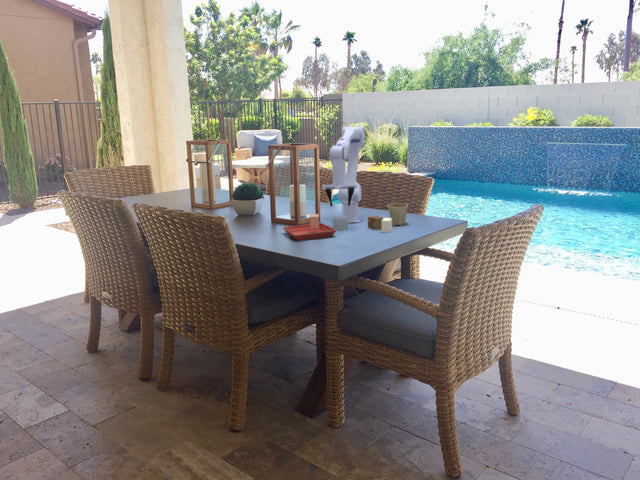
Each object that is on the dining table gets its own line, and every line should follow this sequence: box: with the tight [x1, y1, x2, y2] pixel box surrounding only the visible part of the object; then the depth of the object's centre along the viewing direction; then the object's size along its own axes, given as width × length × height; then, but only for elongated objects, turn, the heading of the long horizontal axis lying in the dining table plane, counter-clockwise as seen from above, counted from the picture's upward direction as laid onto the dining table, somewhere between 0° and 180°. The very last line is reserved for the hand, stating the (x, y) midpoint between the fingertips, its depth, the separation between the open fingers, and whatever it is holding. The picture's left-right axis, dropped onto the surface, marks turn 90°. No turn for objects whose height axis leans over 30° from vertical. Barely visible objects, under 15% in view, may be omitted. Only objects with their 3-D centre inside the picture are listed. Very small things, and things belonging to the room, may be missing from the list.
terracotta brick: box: [309, 213, 320, 229], centre depth 221 cm, size 6×4×5 cm, turn 3°
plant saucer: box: [282, 222, 337, 241], centre depth 220 cm, size 18×18×3 cm
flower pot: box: [386, 202, 409, 226], centre depth 234 cm, size 9×9×9 cm
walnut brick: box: [367, 215, 384, 231], centre depth 228 cm, size 6×4×5 cm, turn 33°
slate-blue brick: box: [332, 216, 349, 231], centre depth 229 cm, size 6×4×5 cm, turn 83°
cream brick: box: [381, 217, 393, 233], centre depth 223 cm, size 6×4×5 cm, turn 163°
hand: (340, 205), depth 228 cm, fingers open, 7 cm apart
